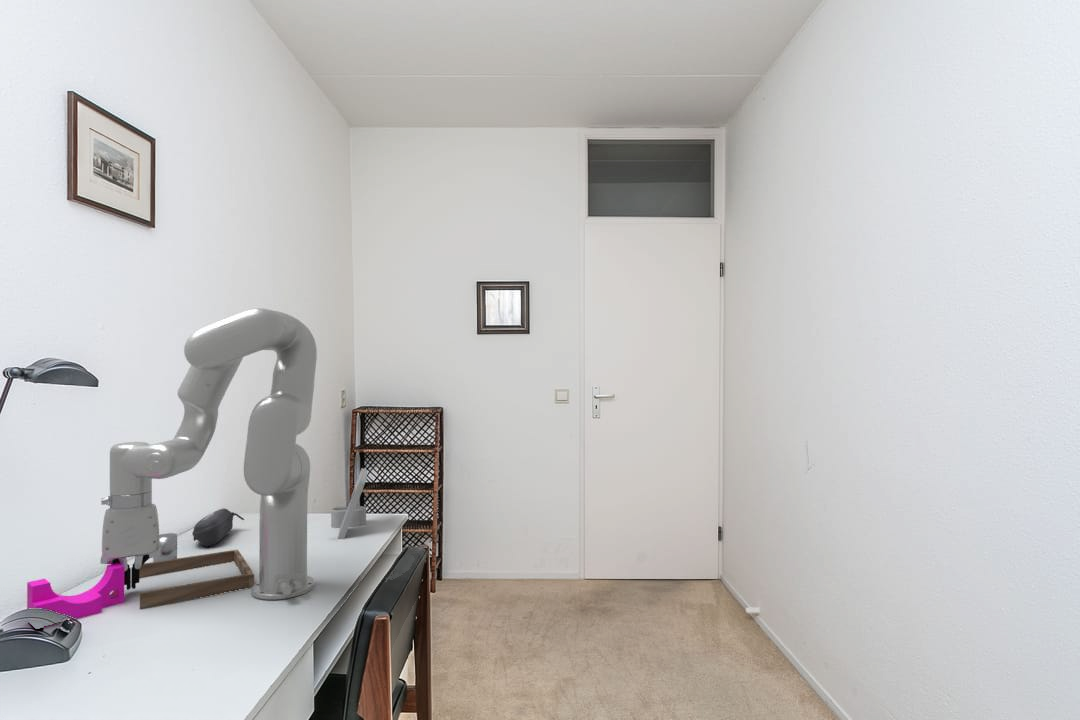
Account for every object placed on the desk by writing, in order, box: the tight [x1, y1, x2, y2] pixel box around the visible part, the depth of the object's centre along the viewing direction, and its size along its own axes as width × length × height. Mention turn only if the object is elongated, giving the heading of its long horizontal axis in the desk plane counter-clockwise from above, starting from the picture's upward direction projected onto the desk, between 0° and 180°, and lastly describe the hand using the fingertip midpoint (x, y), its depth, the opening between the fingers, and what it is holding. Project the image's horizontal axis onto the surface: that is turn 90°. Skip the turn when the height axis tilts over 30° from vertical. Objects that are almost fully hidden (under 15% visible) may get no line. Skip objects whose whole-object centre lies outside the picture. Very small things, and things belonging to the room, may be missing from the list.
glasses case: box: [192, 508, 245, 548], centre depth 173 cm, size 18×10×8 cm, turn 12°
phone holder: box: [330, 467, 368, 540], centre depth 179 cm, size 17×10×18 cm, turn 15°
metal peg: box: [152, 532, 178, 562], centre depth 153 cm, size 5×5×7 cm
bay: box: [139, 549, 255, 610], centre depth 140 cm, size 22×21×3 cm
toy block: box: [26, 563, 125, 620], centre depth 124 cm, size 15×6×8 cm, turn 140°
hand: (131, 587), depth 134 cm, fingers closed
